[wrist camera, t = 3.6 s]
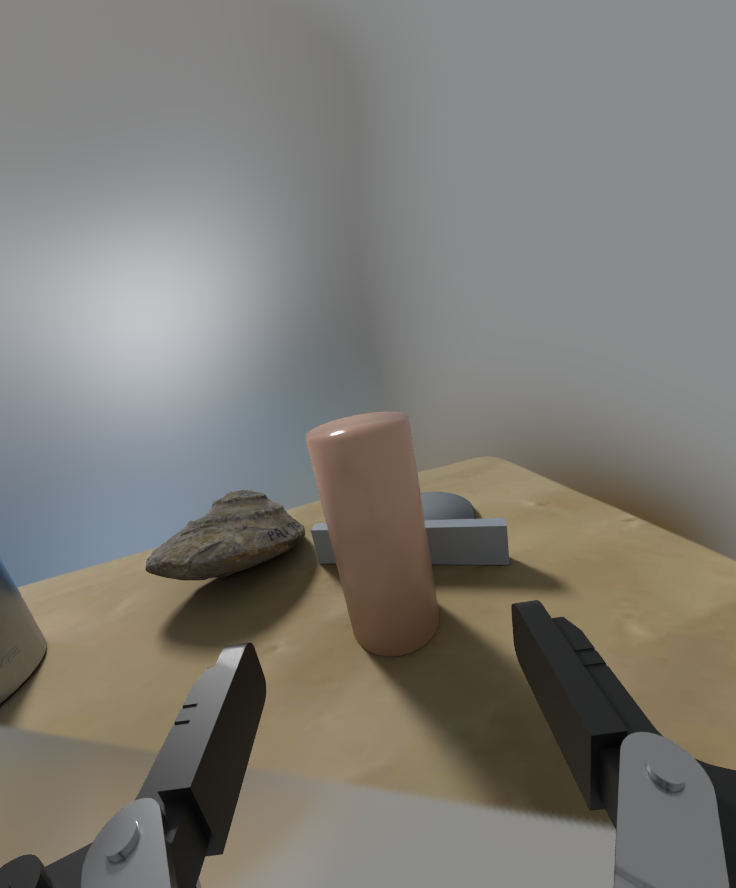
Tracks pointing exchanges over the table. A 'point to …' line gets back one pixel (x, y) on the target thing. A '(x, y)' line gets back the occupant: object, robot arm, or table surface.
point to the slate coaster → (445, 506)
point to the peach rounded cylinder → (377, 529)
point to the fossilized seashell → (227, 539)
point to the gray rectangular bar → (445, 542)
